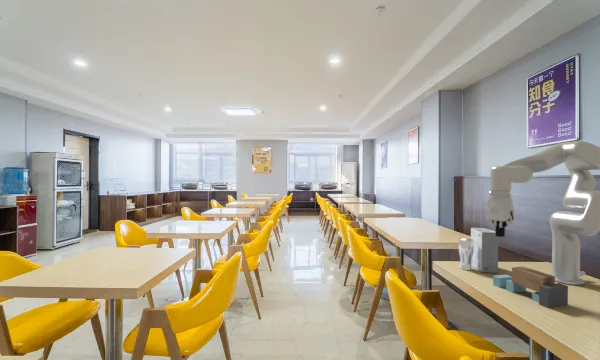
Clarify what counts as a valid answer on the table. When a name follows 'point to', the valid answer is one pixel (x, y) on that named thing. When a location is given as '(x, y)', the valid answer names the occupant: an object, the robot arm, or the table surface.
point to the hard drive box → (485, 250)
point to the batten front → (514, 287)
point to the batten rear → (501, 280)
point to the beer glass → (466, 253)
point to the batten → (535, 296)
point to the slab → (531, 278)
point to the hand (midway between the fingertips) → (500, 236)
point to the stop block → (553, 295)
